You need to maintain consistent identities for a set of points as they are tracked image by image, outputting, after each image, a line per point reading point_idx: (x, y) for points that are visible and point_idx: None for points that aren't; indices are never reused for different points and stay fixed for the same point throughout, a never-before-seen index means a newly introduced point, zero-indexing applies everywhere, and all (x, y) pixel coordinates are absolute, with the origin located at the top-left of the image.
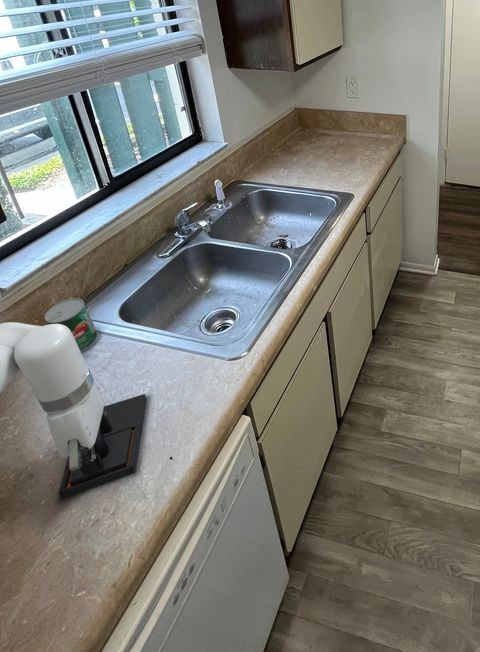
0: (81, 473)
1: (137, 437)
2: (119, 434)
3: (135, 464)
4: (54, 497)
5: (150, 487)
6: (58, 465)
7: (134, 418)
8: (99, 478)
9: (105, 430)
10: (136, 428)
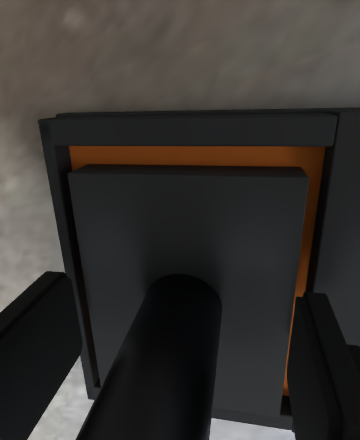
0: (99, 229)
1: (223, 416)
2: (267, 376)
3: None
4: (82, 75)
5: None
6: (275, 30)
7: None
8: None
9: (293, 378)
10: (275, 420)
